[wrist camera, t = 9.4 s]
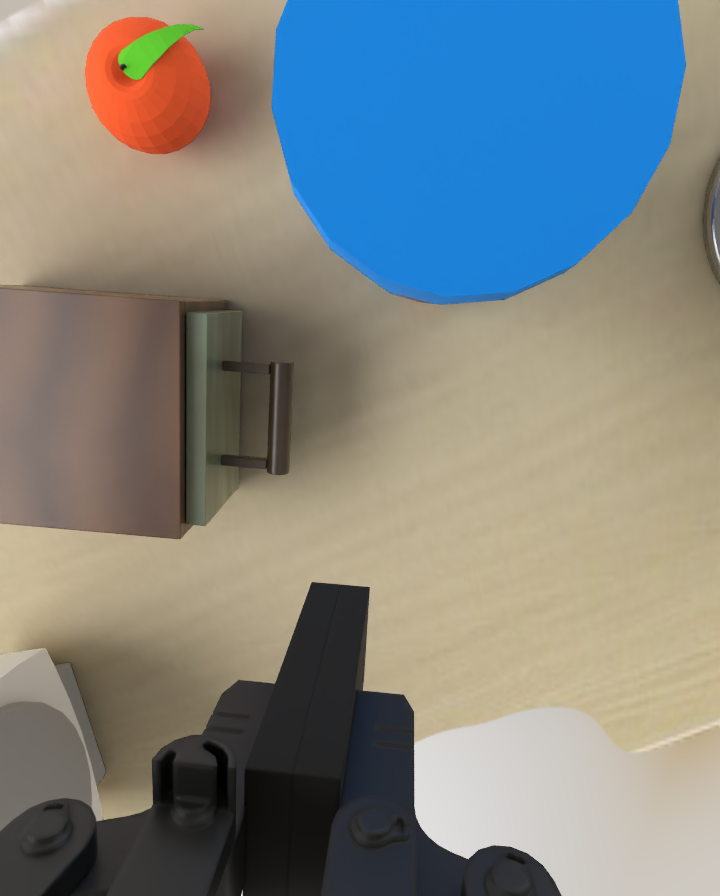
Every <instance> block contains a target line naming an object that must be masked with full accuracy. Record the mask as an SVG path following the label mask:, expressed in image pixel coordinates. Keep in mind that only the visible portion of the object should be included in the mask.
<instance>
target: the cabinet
mask: <svg viewBox="0 0 720 896" xmlns="http://www.w3.org/2000/svg"><path fill="white" fill-rule="evenodd" d="M211 310H228V300H216V299H202V298H188V297H174V296H160V295H146V294H132V293H118V292H104V291H90V290H76V289H62V288H48V287H34V286H20V285H0V523H3V524H14V525H25V526H36V527H48V528H59V529H70V530H81V531H93V532H104V533H115V534H127V535H138V536H149V537H160V538H172V539H181V538H182V537H183V536H184V534H185V533H186V532H187V531H188V530H189V529H190V528H191V527H192V526H193V525H189V524H186V491H185V318H186V312H194V311H211Z"/></svg>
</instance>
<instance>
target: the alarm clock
mask: <svg viewBox="0 0 720 896" xmlns="http://www.w3.org/2000/svg"><path fill="white" fill-rule="evenodd" d="M105 773H106V770H105V767H104V764H103V761H102V758H101V755H100V752H99V749H98V746H97V743H96V740H95V737H94V734H93V731H92V728H91V725H90V722H89V719H88V716H87V713H86V710H85V706H84V703H83V700H82V697H81V694H80V691H79V688H78V685H77V682H76V679H75V676H74V673H73V670H72V667H71V664H70V662H69V663H62V664H55V665H54V664H53V662H52V660H51V658H50V656H49V654H48V652H47V650H46V648H40V649H33V650H26V651H19V652H12V653H5V654H0V831H1V830H2V829H3V828H4V827H6V826H7V825H8V824H9V823H10V822H11V821H12V820H13V819H15V818H16V817H17V816H19V815H20V814H22V813H23V812H24V811H26V810H27V809H29V808H31V807H33V806H36V805H38V804H40V803H43V802H45V801H48V800H55V799H61V798H69V799H76V800H81V801H83V802H84V803H86V804H87V805H89V806H90V807H91V808H92V810H93V812H94V815H95V817H96V821H101V820H104V819H103V814H102V809H101V804H100V799H99V795H98V790H97V786H98V785H99V783H100V781H101V780H102V778H103V777H104V775H105Z"/></svg>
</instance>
